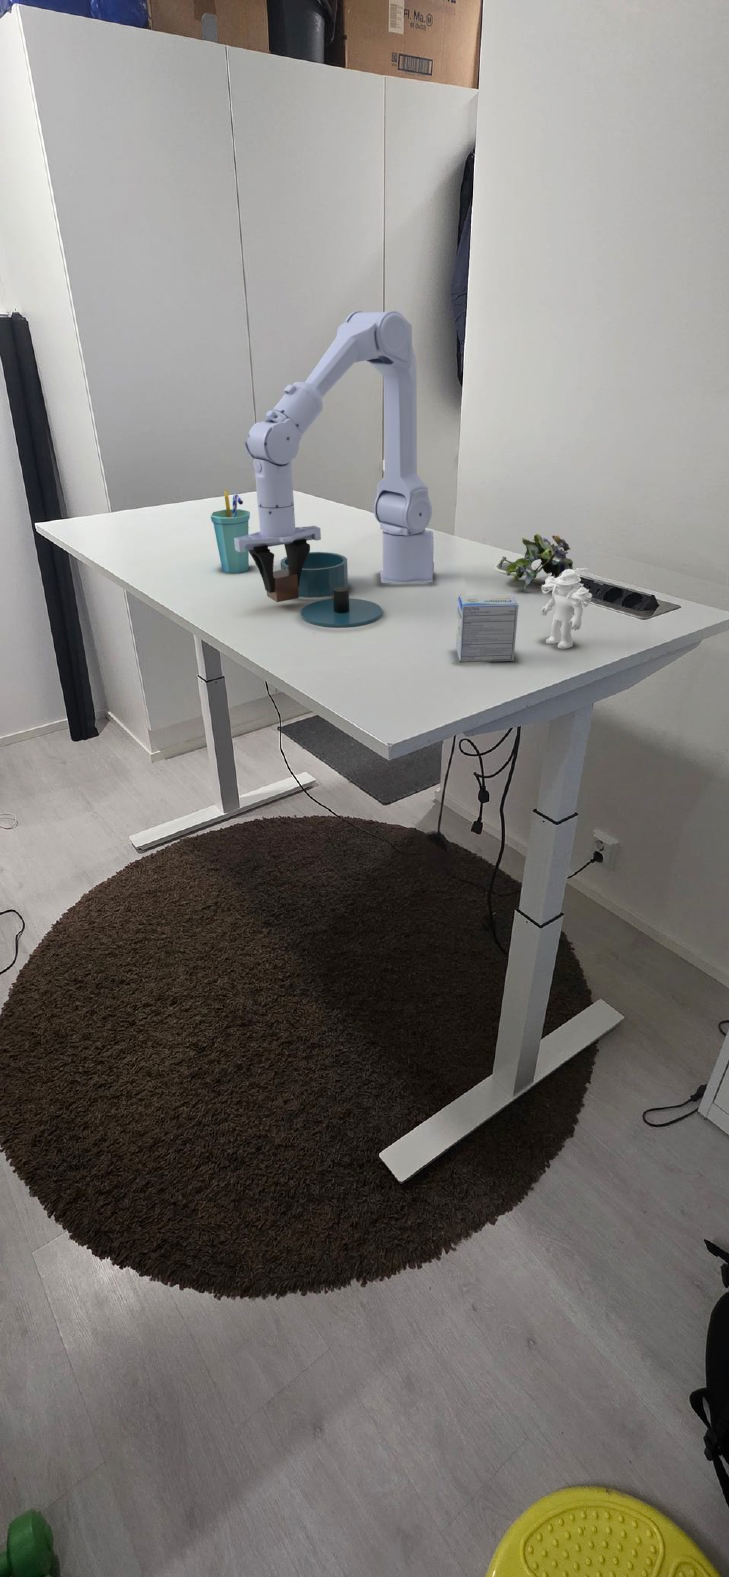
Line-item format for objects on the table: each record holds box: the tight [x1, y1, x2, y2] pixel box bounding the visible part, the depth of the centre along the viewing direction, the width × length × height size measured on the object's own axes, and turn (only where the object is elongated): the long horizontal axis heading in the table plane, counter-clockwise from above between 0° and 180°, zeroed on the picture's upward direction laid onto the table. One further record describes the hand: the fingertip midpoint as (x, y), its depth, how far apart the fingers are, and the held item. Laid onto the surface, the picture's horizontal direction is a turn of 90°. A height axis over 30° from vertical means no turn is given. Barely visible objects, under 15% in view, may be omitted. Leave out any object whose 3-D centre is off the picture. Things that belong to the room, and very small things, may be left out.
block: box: [266, 569, 300, 603], centre depth 135 cm, size 4×4×4 cm
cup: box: [210, 490, 251, 574], centre depth 155 cm, size 14×8×15 cm, turn 25°
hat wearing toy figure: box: [540, 566, 593, 650], centre depth 119 cm, size 9×4×12 cm, turn 30°
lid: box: [300, 587, 383, 628], centre depth 133 cm, size 13×13×5 cm
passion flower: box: [498, 533, 575, 593], centre depth 144 cm, size 11×11×12 cm
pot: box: [280, 551, 349, 599], centre depth 146 cm, size 12×12×5 cm
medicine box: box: [455, 593, 520, 664], centre depth 115 cm, size 8×4×9 cm, turn 92°
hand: (282, 588), depth 136 cm, fingers closed on block, 4 cm apart
